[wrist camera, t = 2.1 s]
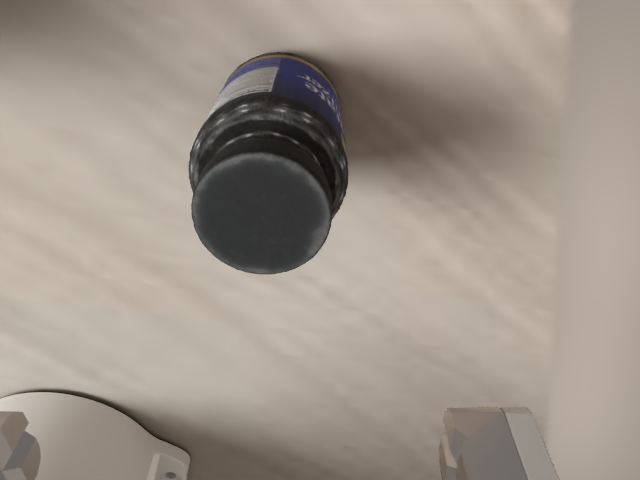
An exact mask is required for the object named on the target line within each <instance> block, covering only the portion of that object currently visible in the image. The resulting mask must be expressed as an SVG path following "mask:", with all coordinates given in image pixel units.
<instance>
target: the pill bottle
mask: <svg viewBox="0 0 640 480" xmlns="http://www.w3.org/2000/svg"><path fill="white" fill-rule="evenodd" d="M347 165H348V162H347V157H346V148H345V138H344V129H343V121H342V113H341V105H340V100H339V96H338V94H337V91H336V90H335V87H334V85H333V83H332V82H331V80H330V79H329V78H328V77H327V75H326V74H325V73H324V72H323V71H322V70H321V69H320V68H319V67H317V66H316V65H314V64H312V63H310V62H306V61H305V60H303V59H302V58H300V57H298V56H296V55H294V54H290V53H281V52H277V53H267V54H262V55H260V56H257V57H255V58H252V59H250V60H248V61H246V62H245V63H243V64H241V65H240V66H239V67H238V68H237V69H236V70H235V71H234V72H233V73H232V74H231V76H230V77H229V78H228V80H227V82H226V84H225V86H224V87H223V89H222V91H221V93H220V95H219V96H218V98H217V100H216V102H215V104H214V106H213V108H212V109H211V111H210V113H209V115H208V117H207V119H206V121H205V122H204V124H203V126H202V128H201V129H200V131H199V133H198V135H197V137H196V139H195V142H194V144H193V147H192V150H191V152H190V161H189V179H190V184H191V188H192V191H193V198H192V219H193V222H194V227H195V230H196V232H197V234H198V236H199V239H200V240H201V242H202V243H203V244H204V246H205V247H206V248H207V249H208V250H209V251H210V252H211V253H212V254H213V255H214V256H215V257H216V258H218V259H219V260H220V261H222V262H224V263H225V264H227V265H229V266H231V267H234V268H235V269H237V270H241V271H244V272H249V273H254V274H276V273H282V272H287V271H289V270H292V269H295V268H297V267H299V266H301V265H303V264H305V263H306V262H307V261H309V260H310V259H311V258H313V257H314V256H315V255H316V254H317V252H318V251H319V250H320V249H321V247H322V246H323V244H324V243H325V241H326V239H327V236H328V234H329V230H330V227H331V221H332V219H333V217H334V216H335V214H336V213H337V212H338V210H339V209H340V206H341V204H342V202H343V198H344V197H345V194H346V189H347V186H348V166H347Z"/></svg>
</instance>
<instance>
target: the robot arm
mask: <svg viewBox="0 0 640 480" xmlns="http://www.w3.org/2000/svg"><path fill="white" fill-rule="evenodd" d="M444 425H445V430H446V432H445V433H444V434H443V435H442V436H441V439H440V447H439V453H440V469H441V476H442V480H559V477H558V475H557V473H556V470H555V468H554V465H553V463H552V461H551V458H550V456H549V453H548V451H547V449H546V446H545V444H544V441H543V439H542V436H541V434H540V432H539V429H538V427H537V424H536V422H535V420H534V417H533V415H532V412H531V411H530V410H529V409H528V408H525V407H521V408H498V407H477V408H447V410H446V411H445V415H444ZM189 465H190V456H189V455H188V453H186V452H185V451H184V450H182V449H180V448H178V447H176V446H174V445H171V444H169V443H166V442H164V441H161V440H159V439H157V438H155V437H154V436H152V435H151V434H150V433H148V432H147V431H146V430H145V429H144V428H142V427H141V426H140V425H139V424H138V423H136V422H135V421H134V420H132V419H131V418H129V417H128V416H126V415H124V414H123V413H121V412H119V411H117V410H115V409H113V408H111V407H109V406H107V405H104V404H102V403H99V402H96V401H93V400H90V399H86V398H83V397H78V396H74V395H68V394H62V393H51V392H31V393H22V394H16V395H11V396H7V397H4V398H1V399H0V480H187V475H188V470H189Z"/></svg>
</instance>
